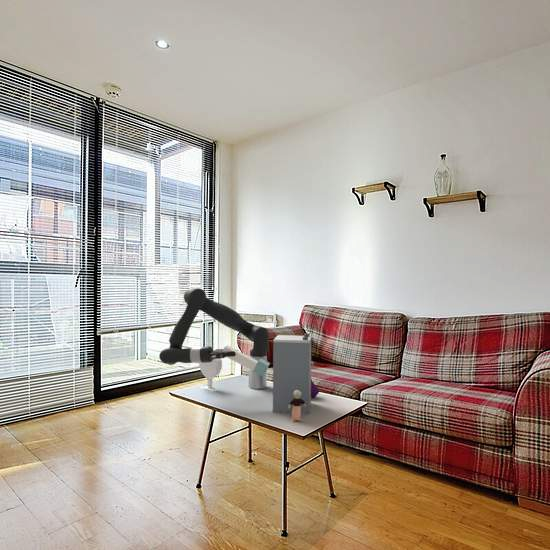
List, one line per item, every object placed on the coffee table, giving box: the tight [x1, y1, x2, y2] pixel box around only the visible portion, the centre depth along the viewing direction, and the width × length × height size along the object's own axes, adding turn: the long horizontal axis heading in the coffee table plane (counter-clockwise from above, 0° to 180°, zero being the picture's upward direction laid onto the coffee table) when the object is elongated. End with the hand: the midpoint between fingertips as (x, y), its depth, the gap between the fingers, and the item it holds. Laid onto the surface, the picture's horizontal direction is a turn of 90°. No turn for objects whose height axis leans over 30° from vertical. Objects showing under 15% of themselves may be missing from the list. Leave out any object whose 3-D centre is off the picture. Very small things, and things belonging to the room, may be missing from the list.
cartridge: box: [222, 345, 270, 376], centre depth 190 cm, size 22×6×6 cm, turn 81°
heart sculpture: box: [198, 358, 223, 392], centre depth 219 cm, size 16×5×18 cm, turn 48°
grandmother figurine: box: [288, 390, 306, 422], centre depth 170 cm, size 8×4×13 cm, turn 114°
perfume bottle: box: [311, 360, 321, 400], centre depth 204 cm, size 8×8×18 cm
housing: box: [272, 333, 312, 414], centre depth 188 cm, size 16×16×33 cm
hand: (236, 352), depth 191 cm, fingers closed on cartridge, 4 cm apart
